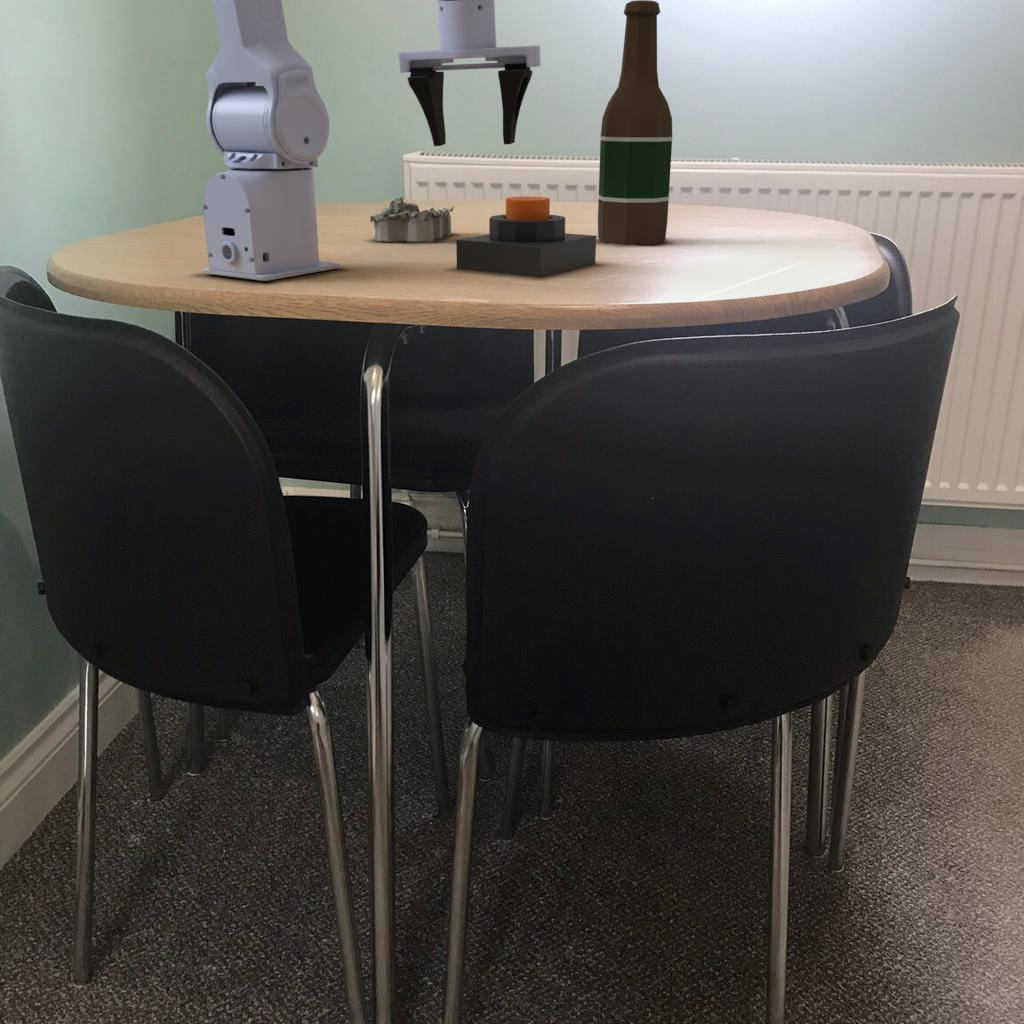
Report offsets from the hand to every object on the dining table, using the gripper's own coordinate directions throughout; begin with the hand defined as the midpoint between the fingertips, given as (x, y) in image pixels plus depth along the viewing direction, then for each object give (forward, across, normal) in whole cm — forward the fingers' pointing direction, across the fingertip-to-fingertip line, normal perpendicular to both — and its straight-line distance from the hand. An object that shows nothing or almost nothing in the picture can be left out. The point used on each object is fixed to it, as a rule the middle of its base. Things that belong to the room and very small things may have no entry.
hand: (474, 144), depth 107 cm
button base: (+9, -9, +17) cm, 21 cm away
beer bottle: (+11, -16, -5) cm, 20 cm away
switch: (+5, -9, +17) cm, 20 cm away
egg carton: (+10, +8, -2) cm, 13 cm away
